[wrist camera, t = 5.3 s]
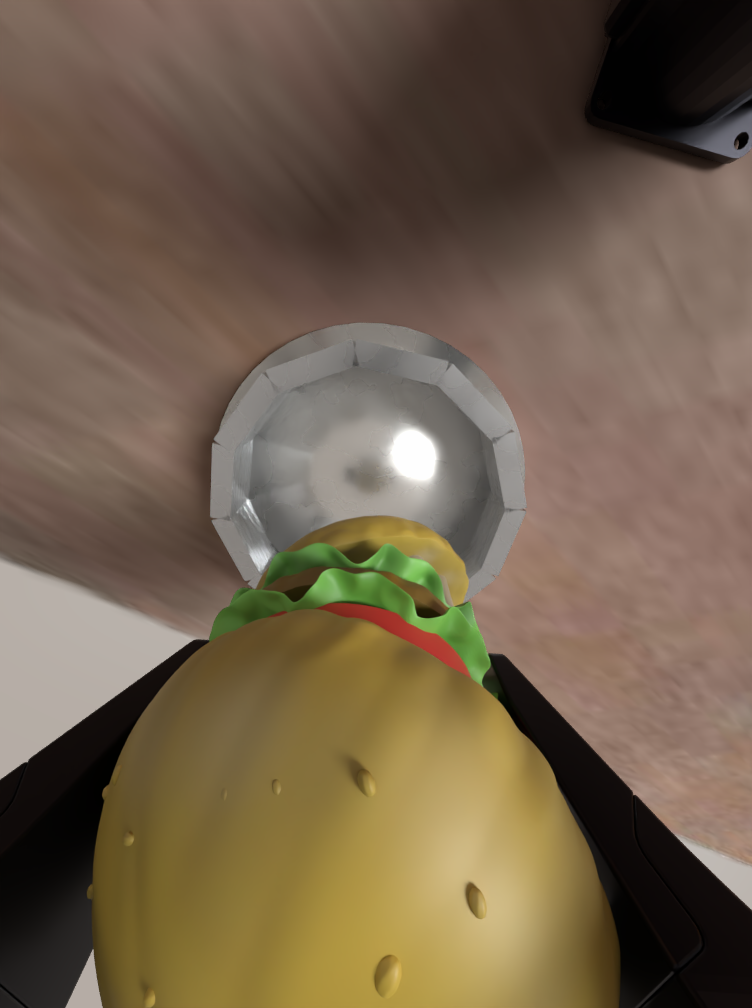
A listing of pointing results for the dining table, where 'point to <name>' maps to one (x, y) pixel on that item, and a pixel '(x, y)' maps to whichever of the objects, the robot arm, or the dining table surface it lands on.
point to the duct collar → (368, 448)
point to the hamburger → (344, 808)
